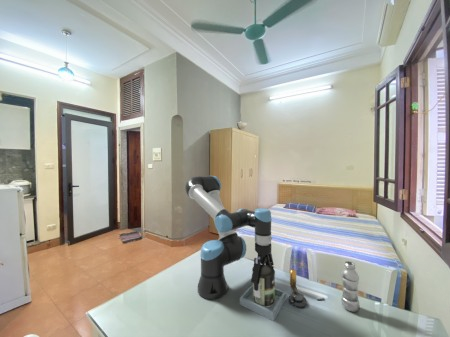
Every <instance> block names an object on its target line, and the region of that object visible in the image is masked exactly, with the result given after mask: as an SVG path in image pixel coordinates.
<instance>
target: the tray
mask: <svg viewBox="0 0 450 337" xmlns="http://www.w3.org/2000/svg"><path fill="white" fill-rule="evenodd" d="M286 299H287V291H284V290H282V289H280V288H276V287H275V304H274V305H273V306H272V307H269V308H265V307H263V306H260V305H258V304H256V303H254V301H253V283H251V285H249V287H248V288H247V289H246V290H245V291H244V293H242V295H241V296H240V297H239V305H240V306H242V307H244V308H246V309H249V311H250V310H251V311H252V312H254V313H256V314H259V315H260V316H262V317H264V318H266V319H268V320H271V321H272V322H274V321H275V319H276V318H277V317H278V316H277V315H278V314H279V312H280V311H281V308H282V307H283V305H284V303H285V302H286Z"/></svg>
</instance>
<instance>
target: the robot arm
mask: <svg viewBox="0 0 450 337" xmlns="http://www.w3.org/2000/svg"><path fill="white" fill-rule="evenodd" d="M184 190H185V192H186V195H187V196H188V197H189V198H190V199H192V200H194V201H195V202H196V203H197V204H198V205H199V206H200V207H201V208H202V209H203V210H204V211H205V212H206V213H207V214H208V215H209V216H210V217H211V218H212V220H213V222H214V227H215V228H216V230H217V233H218V239H214V240H212V239H211V240H208V241H206V242H205V243H204V244H202V246H201V248H200V256H199V257H200V276H199V279H198V284H197V293H198V295H199V296H200V297H201V298H203V299H206V300H216V299H220V298H222V297H223V296H225V295H226V293H227V292H228V283H227V280H226V277H225V272H224V270H225V269H224V268H225V266H227V265H231V264H232V263H234V262H236V261H237V262H238V261H240V260H241V259H243V258H244V257H245V256H246V253H247V244H246V240H245V239H244V237H242V236H239V235H238V232H236V231H234V230H236V229H240V228H245V227H246V226H247V227H251V228H254V251H255V252H256V253H257V258H256V257H253V258H254V259H253V267H252V268H253V271H252V274H251V279H250V282H251V284H253V283H254V296H256V297H258V298H260V282H259V281H260V277H261V273H262V269H263V267H264V265H268V266H271V267H272V268H273V269H275V268H274V265H275V264H274V259H273V255H272V240H273V237H272V221H273V220H272V212H271V210H270V209H268V208H256V209H254V211H253V210H250V209H248V208H239V209H238V210H236V211H235V212H229V210H227V209H226V208H225V207H224V205H223V202H222V199H221V196H220V193H221V190H222V183H221V180H220V179H219V177H217V176H215V175H204V176H203V175H201V176H196V175H195V176H192V177H190V178H189V179H188V180H187V182H186V183H185V188H184Z"/></svg>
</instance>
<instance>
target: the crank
mask: <svg viewBox="0 0 450 337" xmlns="http://www.w3.org/2000/svg"><path fill="white" fill-rule="evenodd" d="M289 285H290V287H289V288H290V290H291V294H292V299H293V300H294V301H296V302H303V296H304V295H303V293H301V292H299V289H298V287H297V270H296V269H293V268H291V269H289Z"/></svg>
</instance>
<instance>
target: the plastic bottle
mask: <svg viewBox="0 0 450 337" xmlns="http://www.w3.org/2000/svg"><path fill="white" fill-rule="evenodd" d="M340 275H341V281H342V294H341V305H342V306H343V308H344V309H345V310H347V311H349V312H353V313H357V312H358V311H359V310H360V301H359V296H358V295H359V294H358V290H359V288H358V287H359V281H360V276H359V274H358V273H357V271H356V264H355V263H354V262H352V261H349V260H348V261H345V262H344V268H343V269H342V270H341V272H340Z"/></svg>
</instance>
